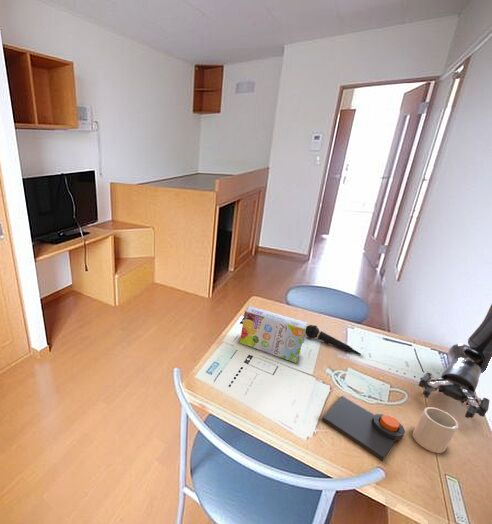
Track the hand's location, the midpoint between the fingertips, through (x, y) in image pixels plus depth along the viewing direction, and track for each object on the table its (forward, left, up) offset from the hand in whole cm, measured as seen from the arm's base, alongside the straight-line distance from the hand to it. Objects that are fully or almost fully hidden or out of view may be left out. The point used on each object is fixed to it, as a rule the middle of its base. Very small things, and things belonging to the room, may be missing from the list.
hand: (446, 404), depth 85 cm
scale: (+13, +20, -7) cm, 25 cm away
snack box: (+48, +10, -7) cm, 50 cm away
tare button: (+8, +16, -4) cm, 18 cm away
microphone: (+35, -12, -7) cm, 38 cm away
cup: (0, +10, -7) cm, 12 cm away
